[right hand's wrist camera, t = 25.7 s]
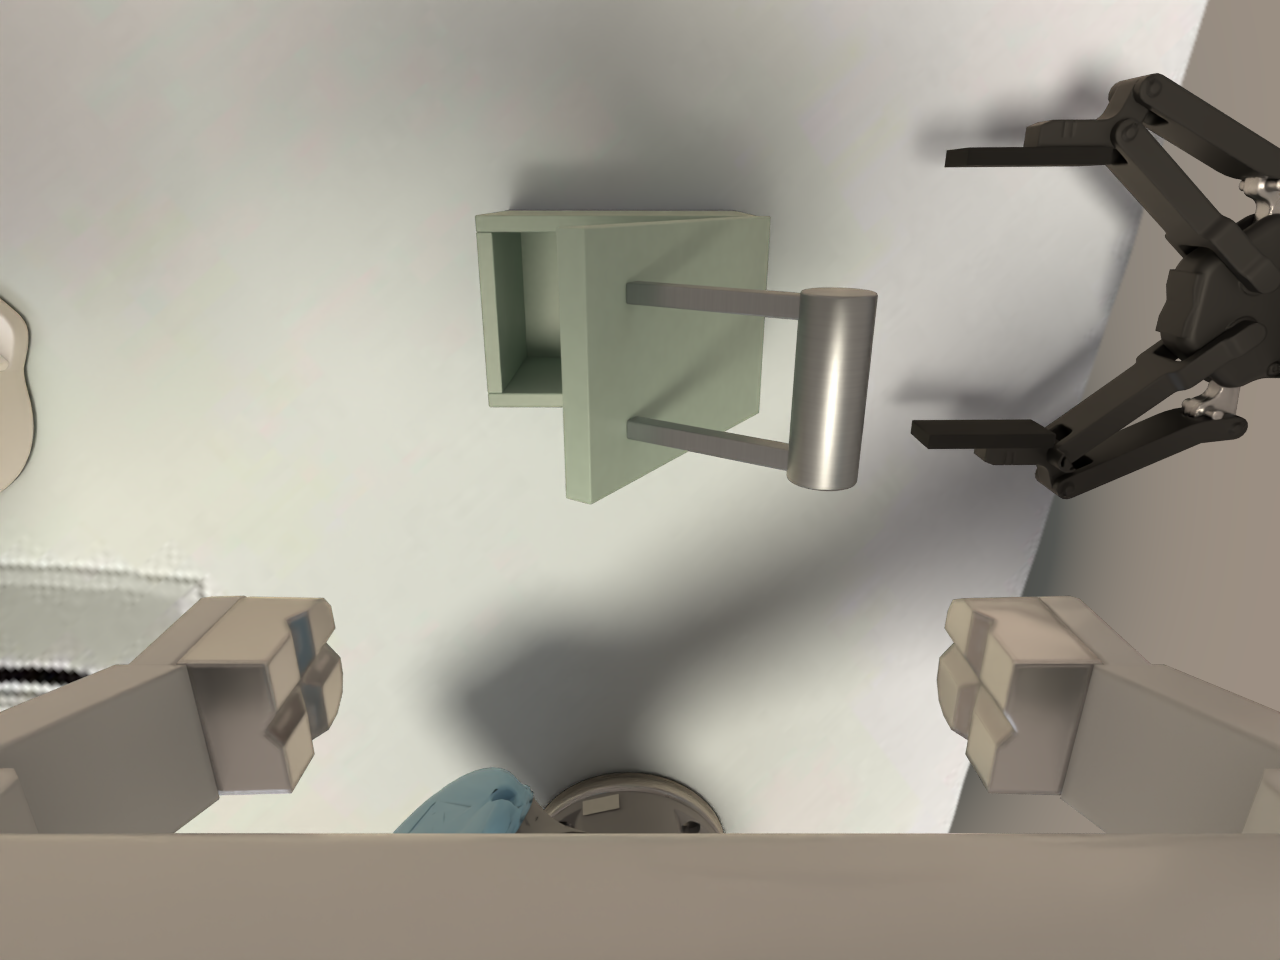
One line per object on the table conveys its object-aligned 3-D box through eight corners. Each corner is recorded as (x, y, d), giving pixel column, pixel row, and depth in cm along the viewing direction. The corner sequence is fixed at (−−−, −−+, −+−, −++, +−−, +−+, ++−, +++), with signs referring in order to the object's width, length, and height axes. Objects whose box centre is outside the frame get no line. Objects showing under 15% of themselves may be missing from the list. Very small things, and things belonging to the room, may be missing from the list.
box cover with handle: (565, 498, 26) (820, 565, 22) (555, 226, 23) (852, 236, 18) (738, 409, 37) (934, 441, 32) (748, 215, 34) (967, 220, 29)
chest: (517, 366, 46) (488, 408, 37) (508, 210, 43) (474, 214, 34) (727, 366, 46) (747, 408, 37) (733, 210, 43) (758, 215, 34)
